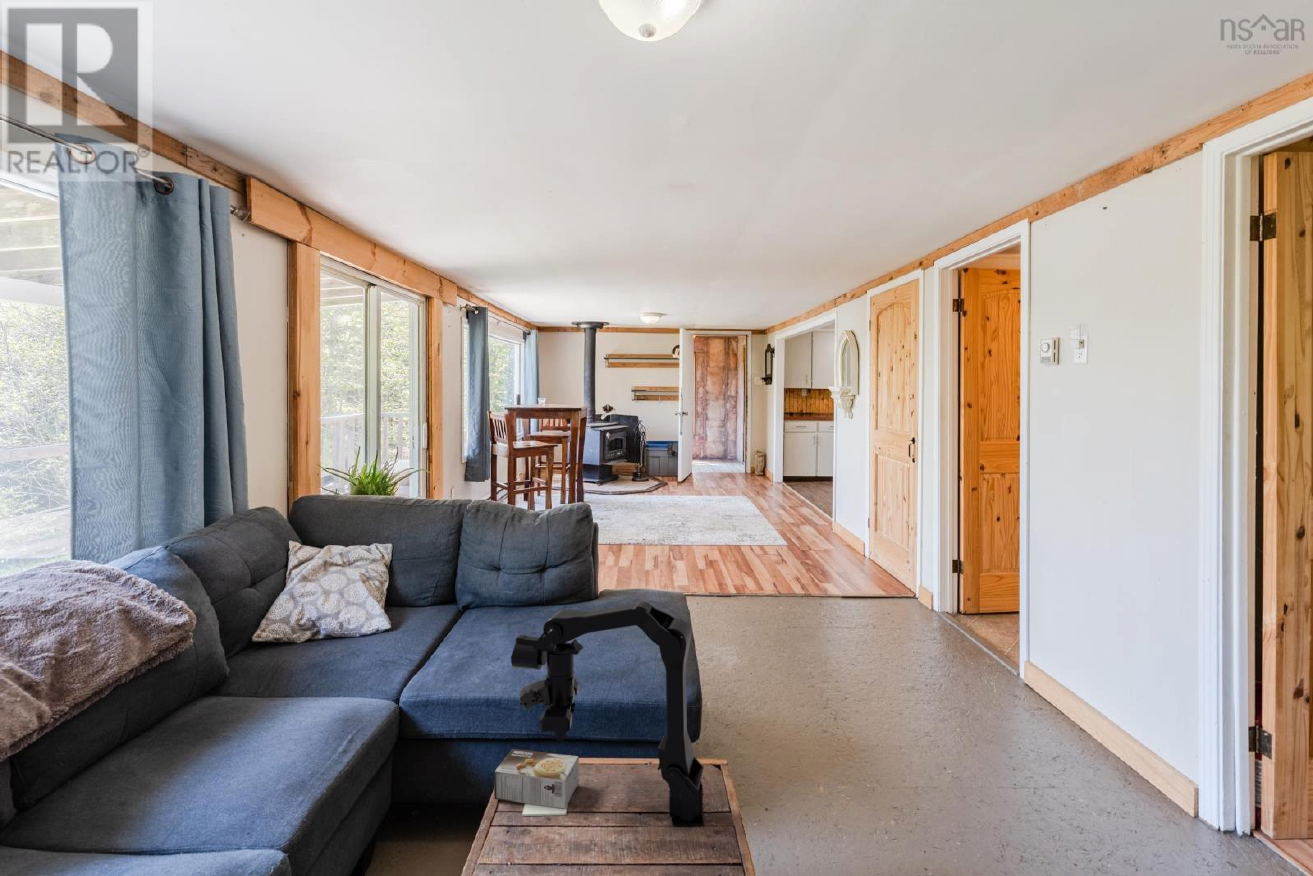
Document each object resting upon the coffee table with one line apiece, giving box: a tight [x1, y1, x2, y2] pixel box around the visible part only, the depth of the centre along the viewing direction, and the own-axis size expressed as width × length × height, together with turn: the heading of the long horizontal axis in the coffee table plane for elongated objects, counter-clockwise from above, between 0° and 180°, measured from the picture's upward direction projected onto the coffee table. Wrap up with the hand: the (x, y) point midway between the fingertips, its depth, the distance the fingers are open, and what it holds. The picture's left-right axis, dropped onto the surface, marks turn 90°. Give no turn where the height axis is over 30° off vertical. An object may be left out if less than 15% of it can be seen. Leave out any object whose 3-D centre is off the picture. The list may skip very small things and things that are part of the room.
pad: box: [521, 803, 569, 817], centre depth 127 cm, size 9×12×1 cm
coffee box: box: [493, 748, 580, 808], centre depth 128 cm, size 9×6×16 cm
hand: (560, 742), depth 127 cm, fingers closed
